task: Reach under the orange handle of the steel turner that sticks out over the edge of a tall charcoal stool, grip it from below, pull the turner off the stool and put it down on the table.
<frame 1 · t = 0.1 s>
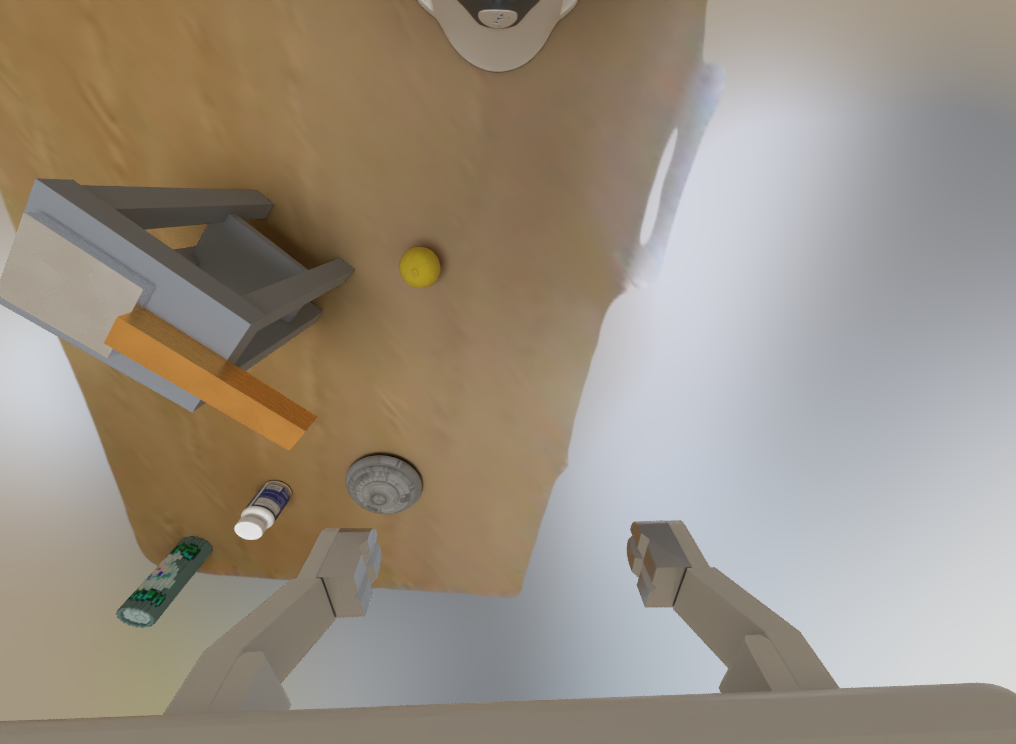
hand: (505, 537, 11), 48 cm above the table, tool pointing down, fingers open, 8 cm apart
lemon: (425, 262, 54), on the table
stool: (288, 261, 53), on the table
turner: (137, 320, 30), point 26 cm above the table, touching stool
can: (197, 545, 79), on the table
pill bottle: (278, 489, 73), on the table
flying saucer: (386, 479, 73), on the table
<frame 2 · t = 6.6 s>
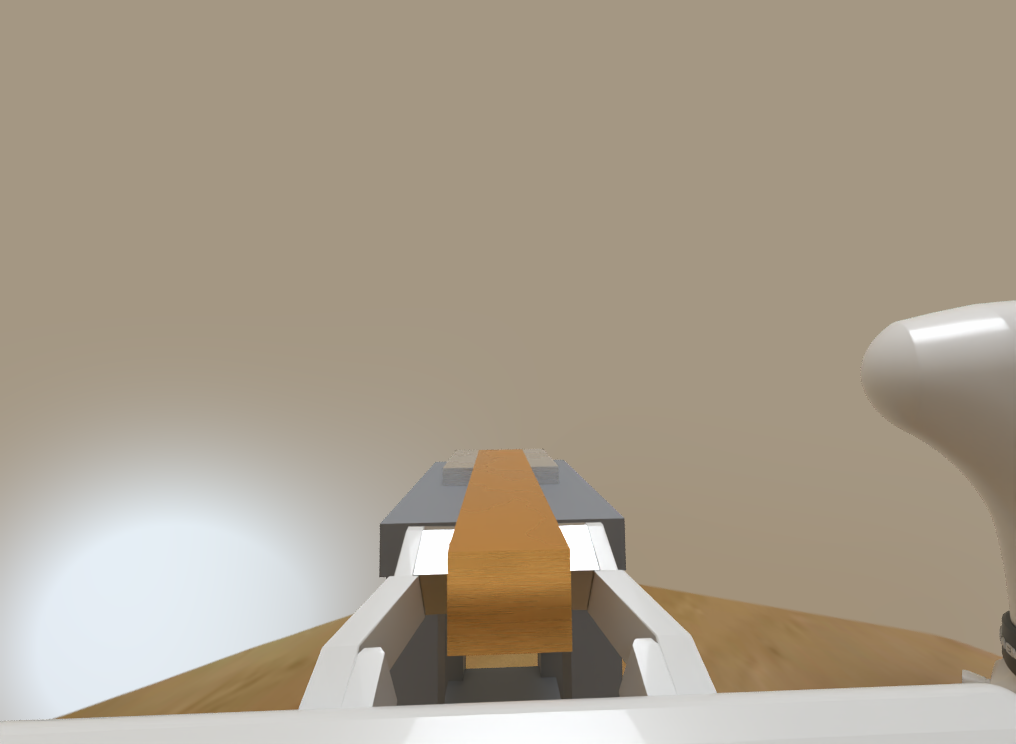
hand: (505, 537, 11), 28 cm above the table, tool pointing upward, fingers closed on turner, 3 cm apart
turner: (500, 485, 24), point 26 cm above the table, touching gripper, stool
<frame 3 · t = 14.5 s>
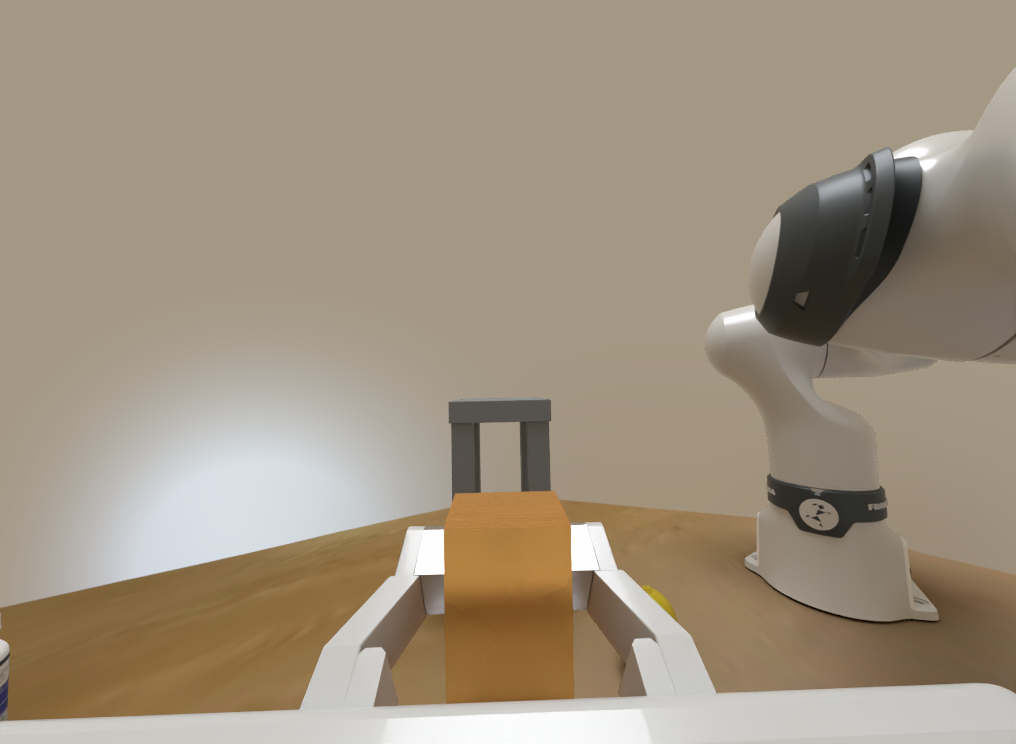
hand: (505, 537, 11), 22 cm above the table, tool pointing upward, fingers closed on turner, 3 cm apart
lemon: (649, 674, 34), on the table
stool: (503, 590, 49), on the table
when the fingers open (19 cm above the table, at t = 15.3 s): turner drops 6 cm and tips over, point 2 cm above the table.
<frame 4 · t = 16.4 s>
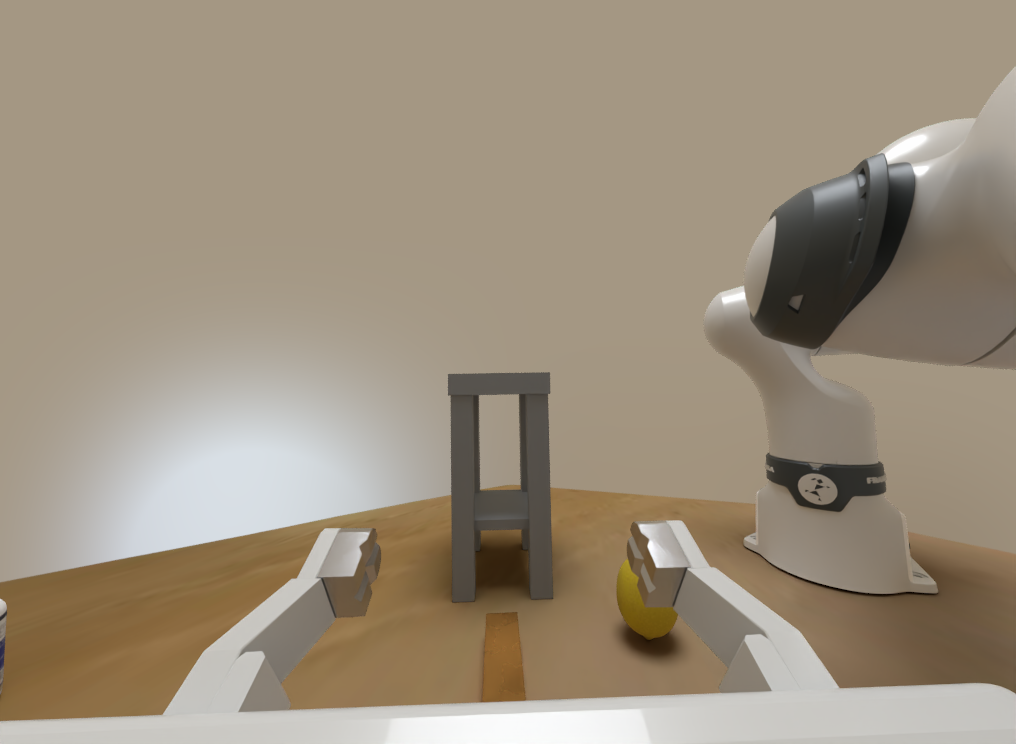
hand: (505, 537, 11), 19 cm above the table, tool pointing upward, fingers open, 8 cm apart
lemon: (648, 640, 34), on the table
stool: (501, 567, 48), on the table
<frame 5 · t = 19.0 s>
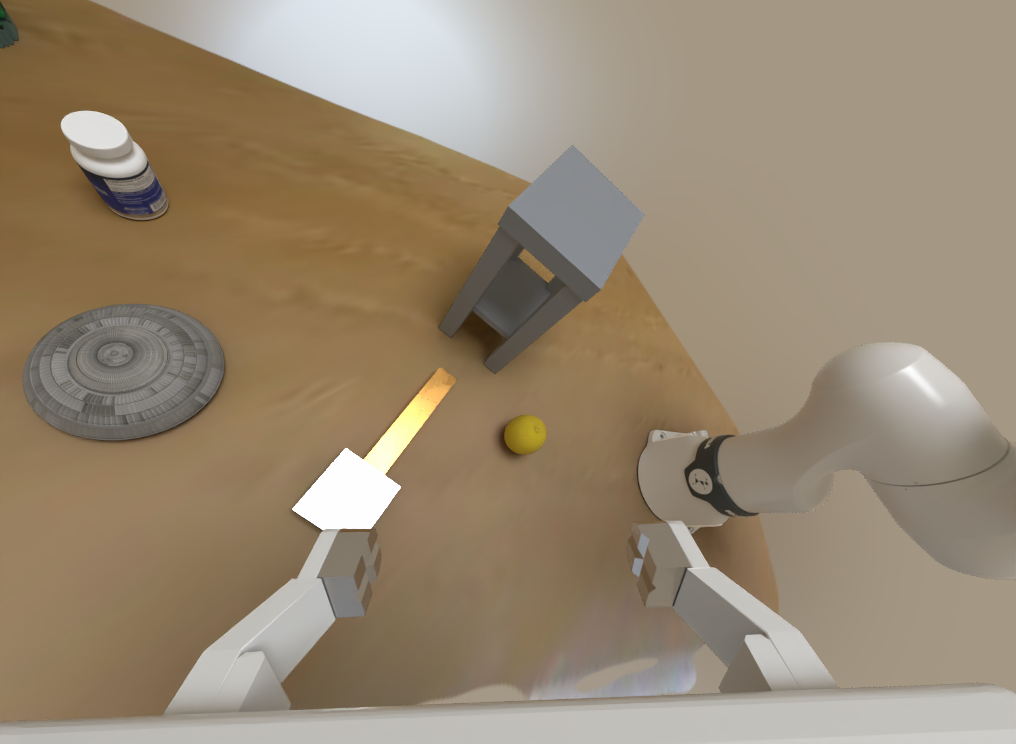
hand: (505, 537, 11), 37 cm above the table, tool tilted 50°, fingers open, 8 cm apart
lemon: (511, 439, 55), on the table
stool: (491, 320, 60), on the table
turner: (373, 467, 43), point 2 cm above the table, tilted 180°
pill bottle: (139, 204, 44), on the table
flying saucer: (140, 373, 38), on the table
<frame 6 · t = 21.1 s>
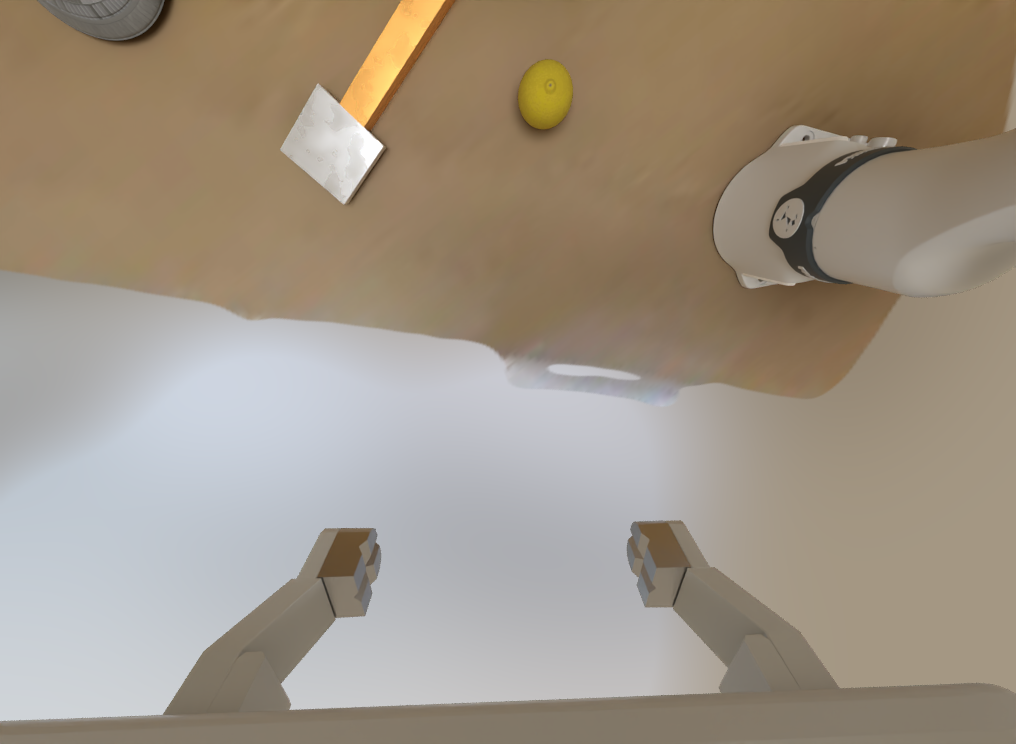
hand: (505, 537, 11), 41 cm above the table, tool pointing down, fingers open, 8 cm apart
lemon: (540, 105, 40), on the table
turner: (351, 115, 38), point 2 cm above the table, tilted 180°
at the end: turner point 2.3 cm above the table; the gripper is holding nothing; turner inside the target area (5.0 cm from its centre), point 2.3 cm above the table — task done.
